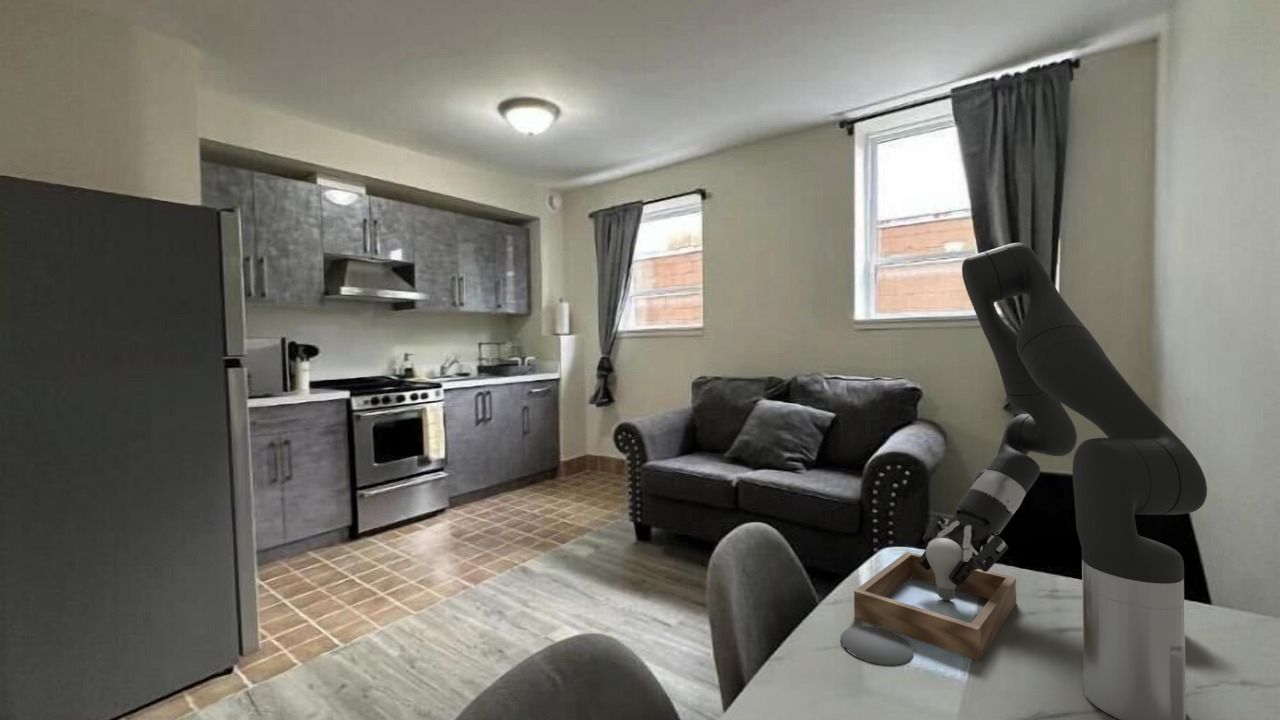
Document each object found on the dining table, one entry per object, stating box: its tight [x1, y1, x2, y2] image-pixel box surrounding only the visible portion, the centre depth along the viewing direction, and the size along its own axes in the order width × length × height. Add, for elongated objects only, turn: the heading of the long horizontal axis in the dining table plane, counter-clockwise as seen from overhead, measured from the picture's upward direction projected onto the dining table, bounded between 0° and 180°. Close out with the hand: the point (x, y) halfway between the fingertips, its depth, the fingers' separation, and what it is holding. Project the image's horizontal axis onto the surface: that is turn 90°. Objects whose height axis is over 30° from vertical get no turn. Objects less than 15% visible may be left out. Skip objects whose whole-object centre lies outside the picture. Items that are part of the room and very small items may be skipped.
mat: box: [840, 625, 914, 666], centre depth 80 cm, size 10×10×1 cm
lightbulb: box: [925, 537, 964, 602], centre depth 94 cm, size 6×6×11 cm
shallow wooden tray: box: [853, 551, 1017, 662], centre depth 90 cm, size 18×24×4 cm
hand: (937, 574), depth 93 cm, fingers closed on lightbulb, 6 cm apart
